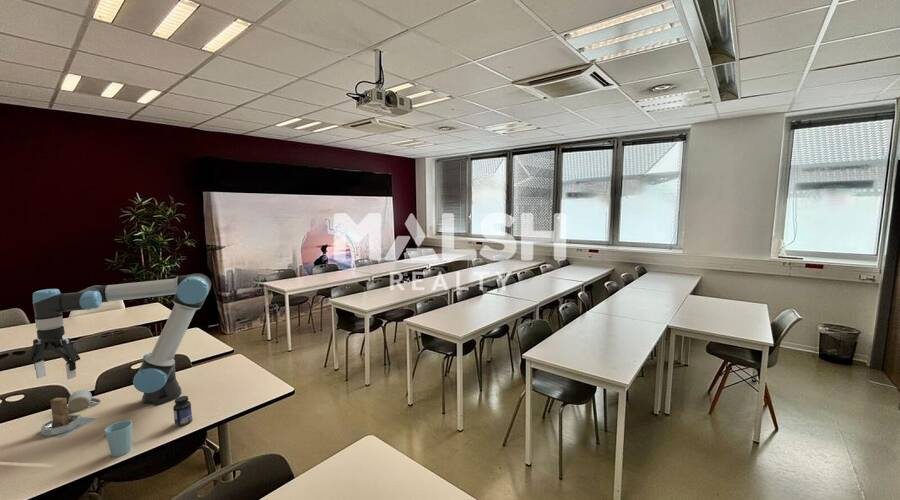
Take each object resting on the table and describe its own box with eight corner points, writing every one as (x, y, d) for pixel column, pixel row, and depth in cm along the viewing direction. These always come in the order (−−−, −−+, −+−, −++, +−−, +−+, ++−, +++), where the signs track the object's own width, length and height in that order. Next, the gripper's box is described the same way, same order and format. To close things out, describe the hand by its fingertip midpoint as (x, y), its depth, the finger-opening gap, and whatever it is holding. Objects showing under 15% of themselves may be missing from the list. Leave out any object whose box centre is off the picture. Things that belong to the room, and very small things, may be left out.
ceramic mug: (68, 415, 163) (66, 399, 163) (69, 408, 169) (68, 392, 168) (100, 407, 170) (99, 391, 170) (101, 400, 176) (99, 385, 176)
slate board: (97, 419, 160) (97, 417, 160) (61, 439, 146) (61, 437, 146) (70, 418, 161) (70, 416, 160) (31, 438, 147) (31, 436, 147)
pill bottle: (195, 418, 160) (193, 394, 159) (187, 426, 154) (185, 401, 153) (179, 419, 159) (177, 395, 158) (171, 427, 153) (169, 402, 152)
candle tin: (64, 420, 158) (64, 413, 158) (88, 420, 157) (87, 413, 157) (34, 435, 147) (33, 428, 147) (59, 436, 146) (58, 428, 146)
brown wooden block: (59, 424, 153) (56, 397, 152) (69, 425, 153) (66, 398, 152) (53, 428, 151) (50, 400, 150) (63, 428, 151) (60, 400, 150)
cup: (107, 451, 138) (105, 425, 137) (134, 443, 143) (132, 418, 142) (106, 461, 132) (103, 434, 131) (134, 452, 137) (132, 426, 136)
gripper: (88, 324, 151) (94, 374, 153) (33, 324, 153) (39, 372, 155) (68, 330, 143) (74, 382, 145) (10, 329, 145) (17, 381, 147)
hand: (56, 377), depth 150 cm, fingers open, 13 cm apart
